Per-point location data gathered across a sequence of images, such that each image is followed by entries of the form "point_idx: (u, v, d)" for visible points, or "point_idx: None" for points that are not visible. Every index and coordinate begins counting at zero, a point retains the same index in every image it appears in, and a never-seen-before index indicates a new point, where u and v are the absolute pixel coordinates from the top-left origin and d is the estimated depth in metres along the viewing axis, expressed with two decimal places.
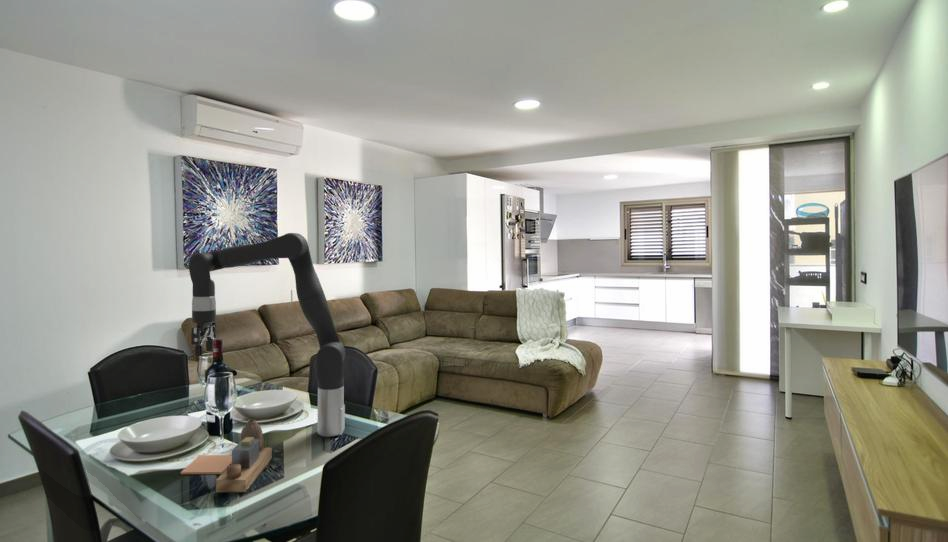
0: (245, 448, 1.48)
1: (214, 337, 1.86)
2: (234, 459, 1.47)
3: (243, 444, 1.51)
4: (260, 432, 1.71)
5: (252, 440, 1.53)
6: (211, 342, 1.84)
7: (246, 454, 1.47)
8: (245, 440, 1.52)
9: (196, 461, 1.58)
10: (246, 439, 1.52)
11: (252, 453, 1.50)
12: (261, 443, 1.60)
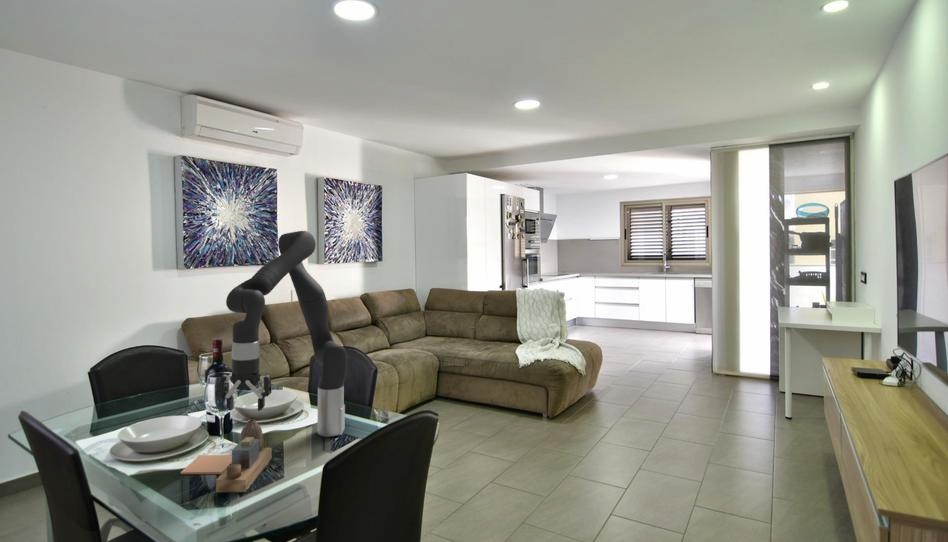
0: (245, 448, 1.48)
1: None
2: (234, 459, 1.47)
3: (243, 444, 1.51)
4: (260, 432, 1.71)
5: (252, 440, 1.53)
6: (233, 398, 1.51)
7: (246, 454, 1.47)
8: (245, 440, 1.52)
9: (196, 461, 1.58)
10: (246, 439, 1.52)
11: (252, 453, 1.50)
12: (261, 443, 1.60)
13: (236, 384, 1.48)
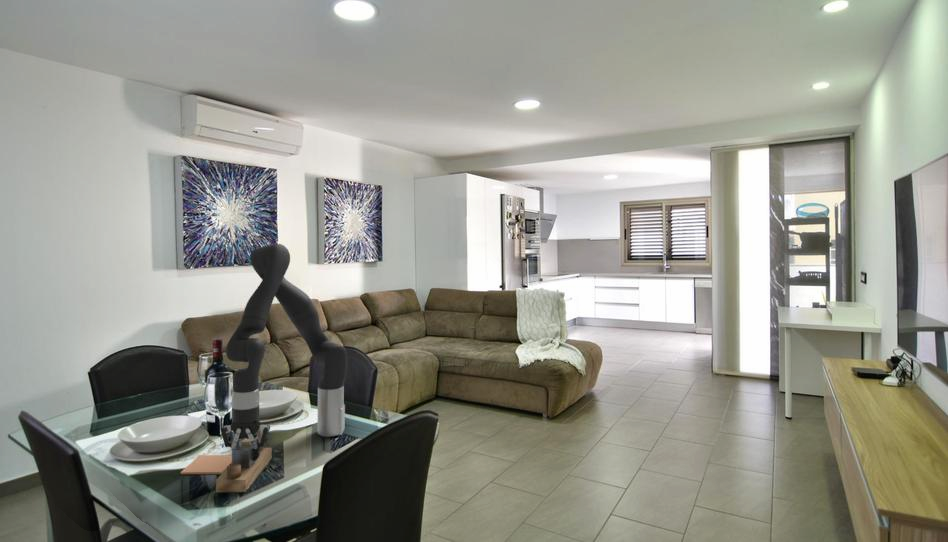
0: (245, 448, 1.48)
1: None
2: (234, 459, 1.47)
3: (243, 444, 1.51)
4: (260, 432, 1.71)
5: None
6: None
7: (246, 454, 1.47)
8: (245, 440, 1.52)
9: (196, 461, 1.58)
10: (246, 439, 1.52)
11: (252, 453, 1.50)
12: None
13: (237, 433, 1.49)
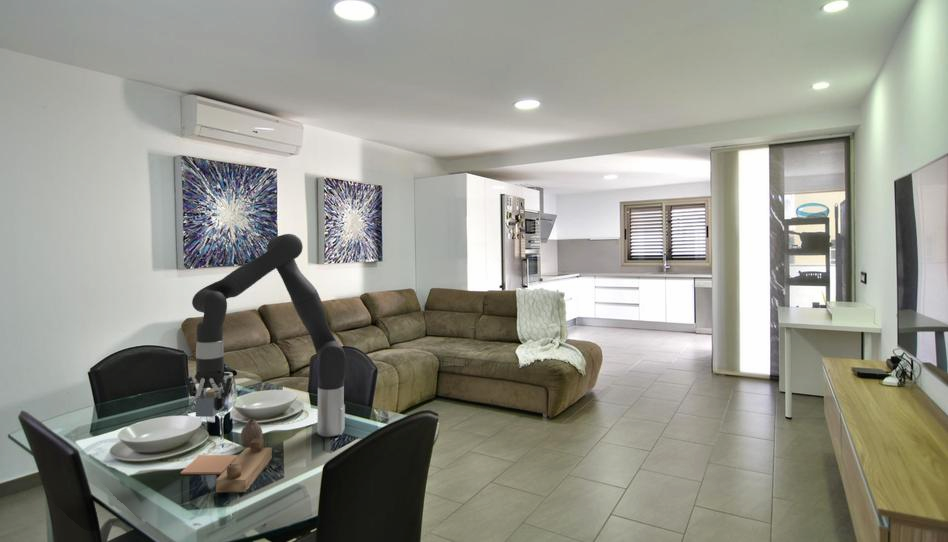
0: (209, 397, 1.53)
1: None
2: (198, 407, 1.51)
3: (207, 394, 1.55)
4: (260, 432, 1.71)
5: None
6: None
7: (209, 403, 1.52)
8: (209, 390, 1.56)
9: (196, 461, 1.58)
10: (211, 390, 1.57)
11: (216, 402, 1.54)
12: (261, 443, 1.60)
13: (201, 382, 1.53)
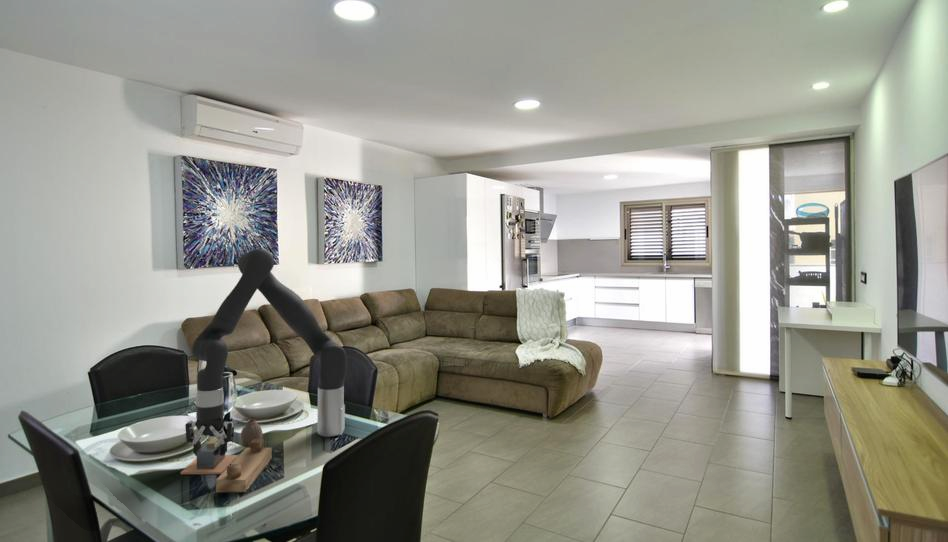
0: (210, 449, 1.54)
1: None
2: (199, 460, 1.52)
3: (208, 445, 1.56)
4: (260, 432, 1.71)
5: (218, 441, 1.59)
6: (200, 443, 1.57)
7: (210, 455, 1.53)
8: (210, 442, 1.57)
9: (196, 461, 1.58)
10: (212, 441, 1.58)
11: (217, 454, 1.55)
12: (261, 443, 1.60)
13: (201, 430, 1.54)
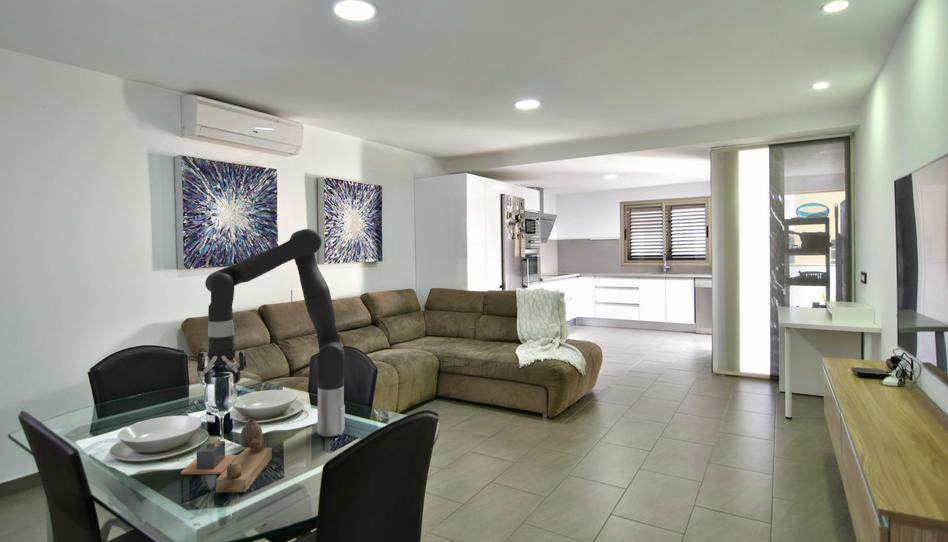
0: (210, 449, 1.54)
1: None
2: (199, 460, 1.52)
3: (208, 445, 1.56)
4: (260, 432, 1.71)
5: (218, 441, 1.59)
6: (210, 373, 1.64)
7: (210, 455, 1.53)
8: (210, 442, 1.57)
9: (196, 461, 1.58)
10: (212, 441, 1.58)
11: (217, 454, 1.55)
12: (261, 443, 1.60)
13: (213, 359, 1.61)
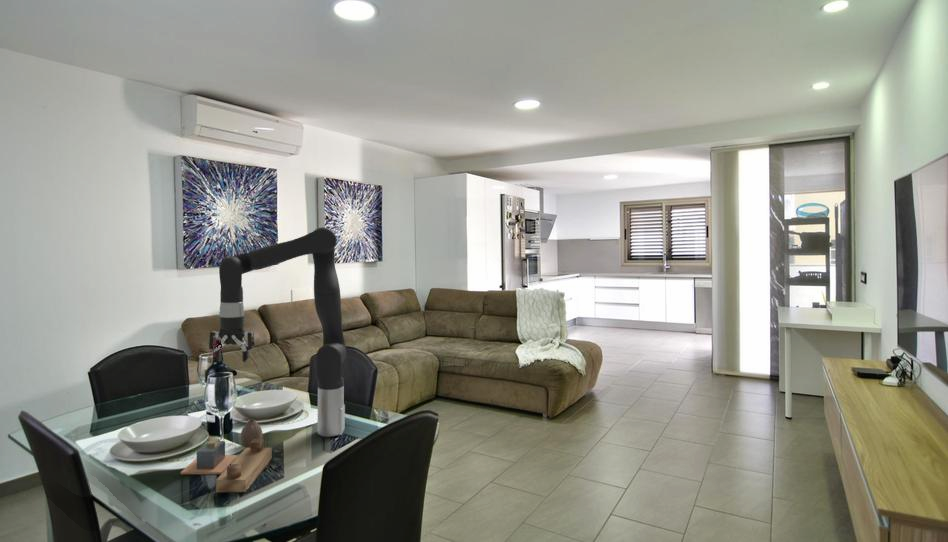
0: (210, 449, 1.54)
1: None
2: (199, 460, 1.52)
3: (208, 445, 1.56)
4: (260, 432, 1.71)
5: (218, 441, 1.59)
6: None
7: (210, 455, 1.53)
8: (210, 442, 1.57)
9: (196, 461, 1.58)
10: (212, 441, 1.58)
11: (217, 454, 1.55)
12: (261, 443, 1.60)
13: (223, 338, 1.71)
